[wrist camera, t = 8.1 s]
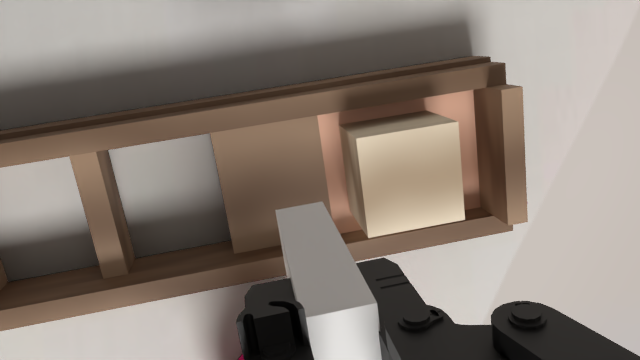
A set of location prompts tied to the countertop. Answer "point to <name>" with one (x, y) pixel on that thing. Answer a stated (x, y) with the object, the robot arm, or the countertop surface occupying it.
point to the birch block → (403, 172)
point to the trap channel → (269, 179)
